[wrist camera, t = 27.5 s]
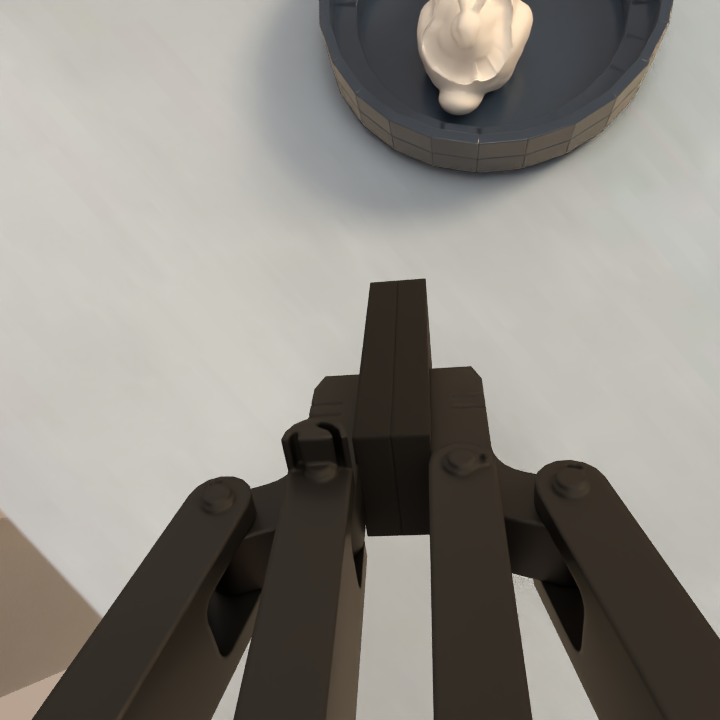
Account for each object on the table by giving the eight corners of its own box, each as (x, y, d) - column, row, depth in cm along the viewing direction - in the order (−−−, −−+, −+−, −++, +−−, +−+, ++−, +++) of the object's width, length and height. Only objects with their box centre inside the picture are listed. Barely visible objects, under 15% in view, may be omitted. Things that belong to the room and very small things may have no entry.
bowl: (334, 192, 41) (321, 159, 37) (328, -80, 45) (316, -136, 41) (673, 162, 38) (697, 124, 34) (635, -123, 42) (653, -187, 38)
